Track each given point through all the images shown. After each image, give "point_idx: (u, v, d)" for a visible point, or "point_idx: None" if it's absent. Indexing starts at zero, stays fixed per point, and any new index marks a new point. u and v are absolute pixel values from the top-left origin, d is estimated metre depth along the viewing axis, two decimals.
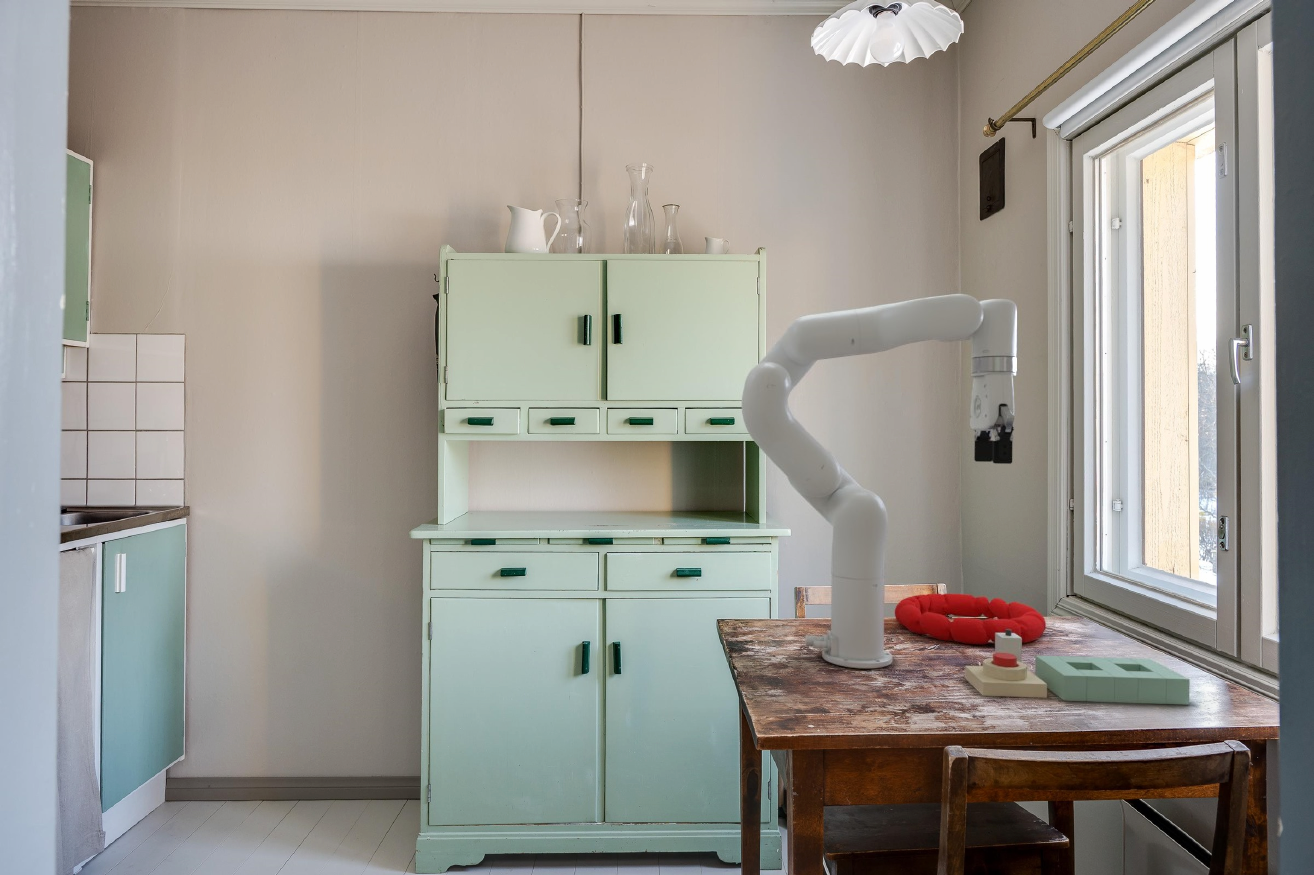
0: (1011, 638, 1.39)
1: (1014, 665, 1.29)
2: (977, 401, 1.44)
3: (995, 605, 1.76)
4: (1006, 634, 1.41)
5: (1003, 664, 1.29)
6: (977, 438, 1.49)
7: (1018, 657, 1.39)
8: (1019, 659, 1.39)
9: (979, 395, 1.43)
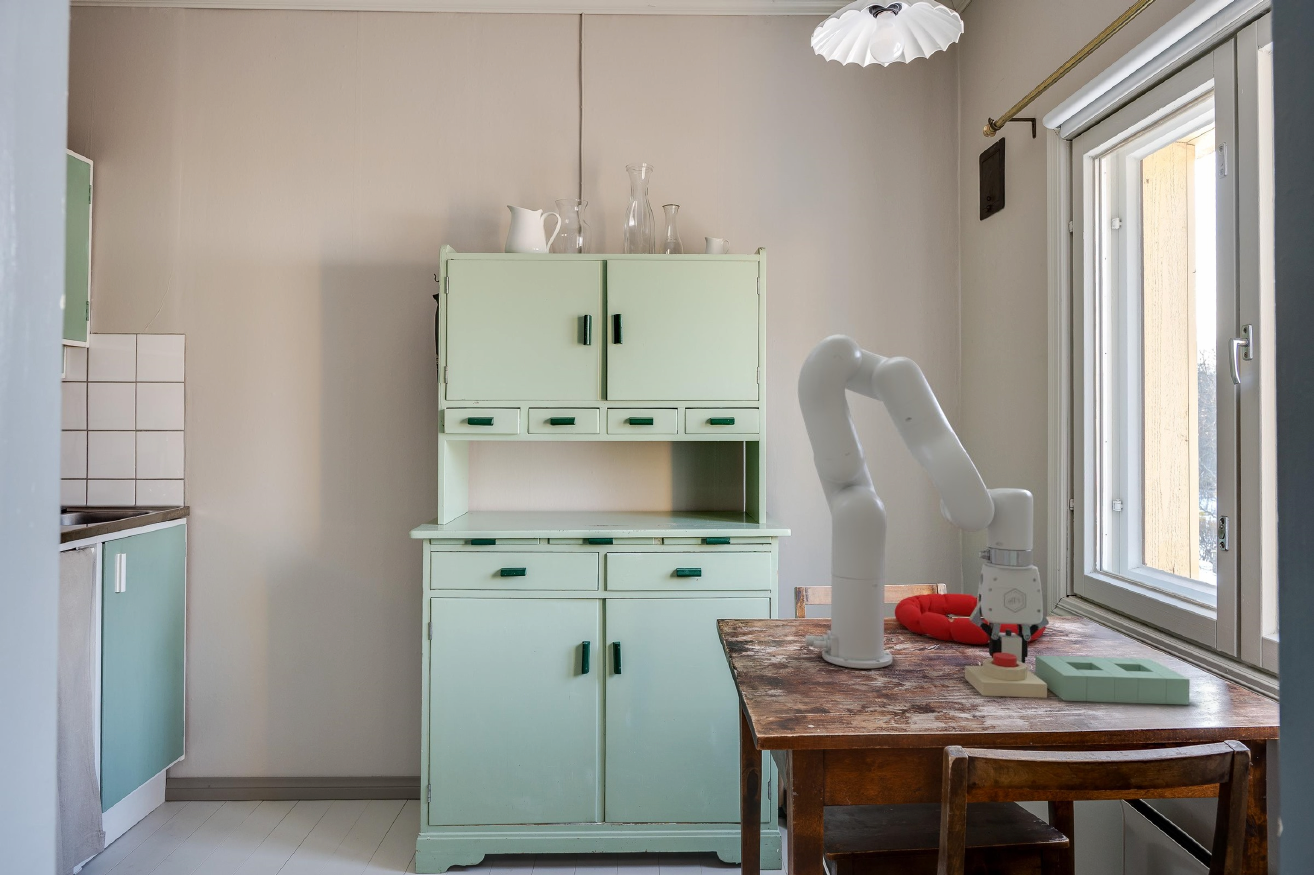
0: (1011, 638, 1.39)
1: (1014, 665, 1.29)
2: (1013, 594, 1.38)
3: None
4: (1006, 634, 1.41)
5: (1003, 664, 1.29)
6: None
7: (1018, 657, 1.39)
8: (1019, 659, 1.39)
9: (1021, 589, 1.38)
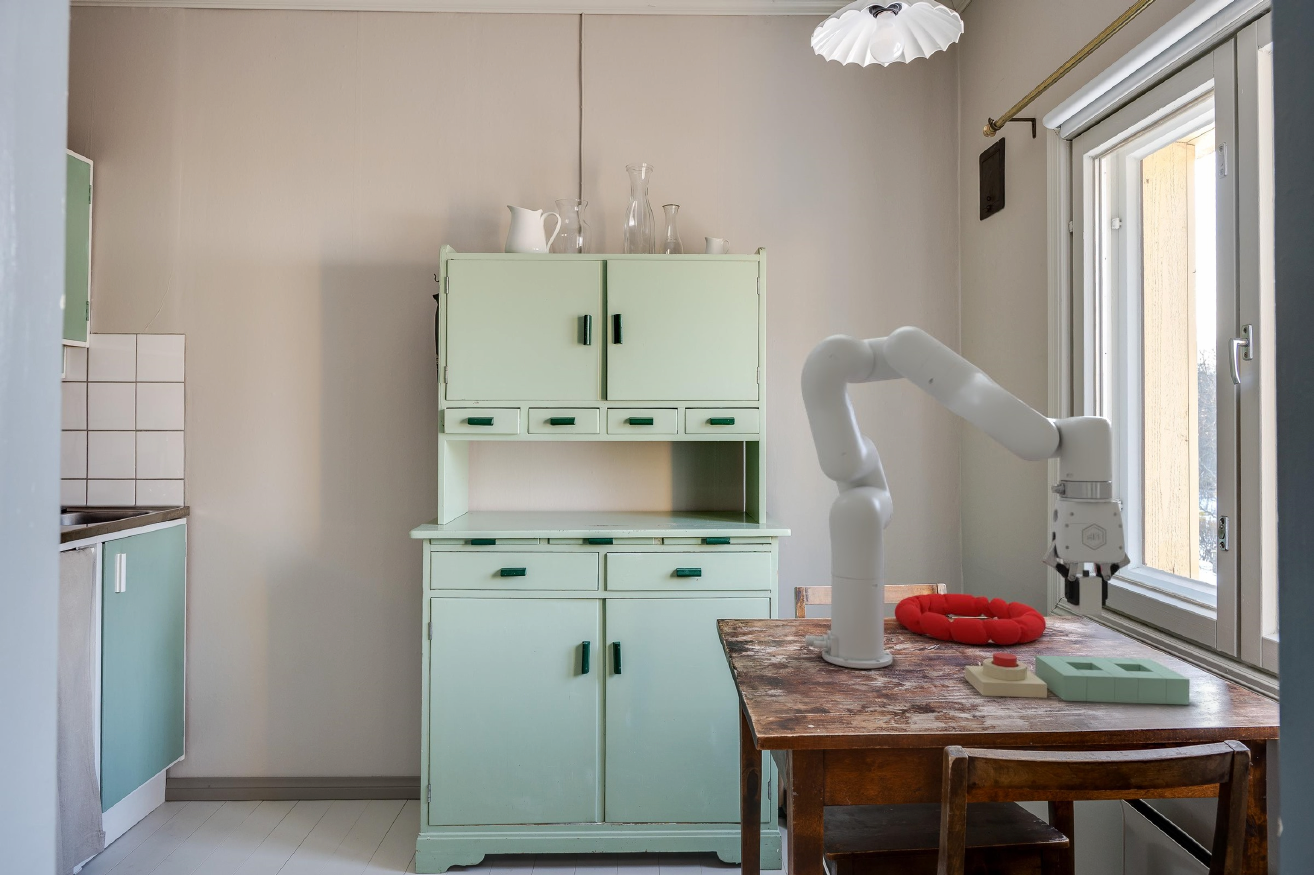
0: (1090, 578, 1.28)
1: (1014, 665, 1.29)
2: (1092, 530, 1.27)
3: (995, 605, 1.76)
4: (1083, 575, 1.29)
5: (1003, 664, 1.29)
6: None
7: (1098, 599, 1.28)
8: (1099, 601, 1.28)
9: (1101, 524, 1.27)
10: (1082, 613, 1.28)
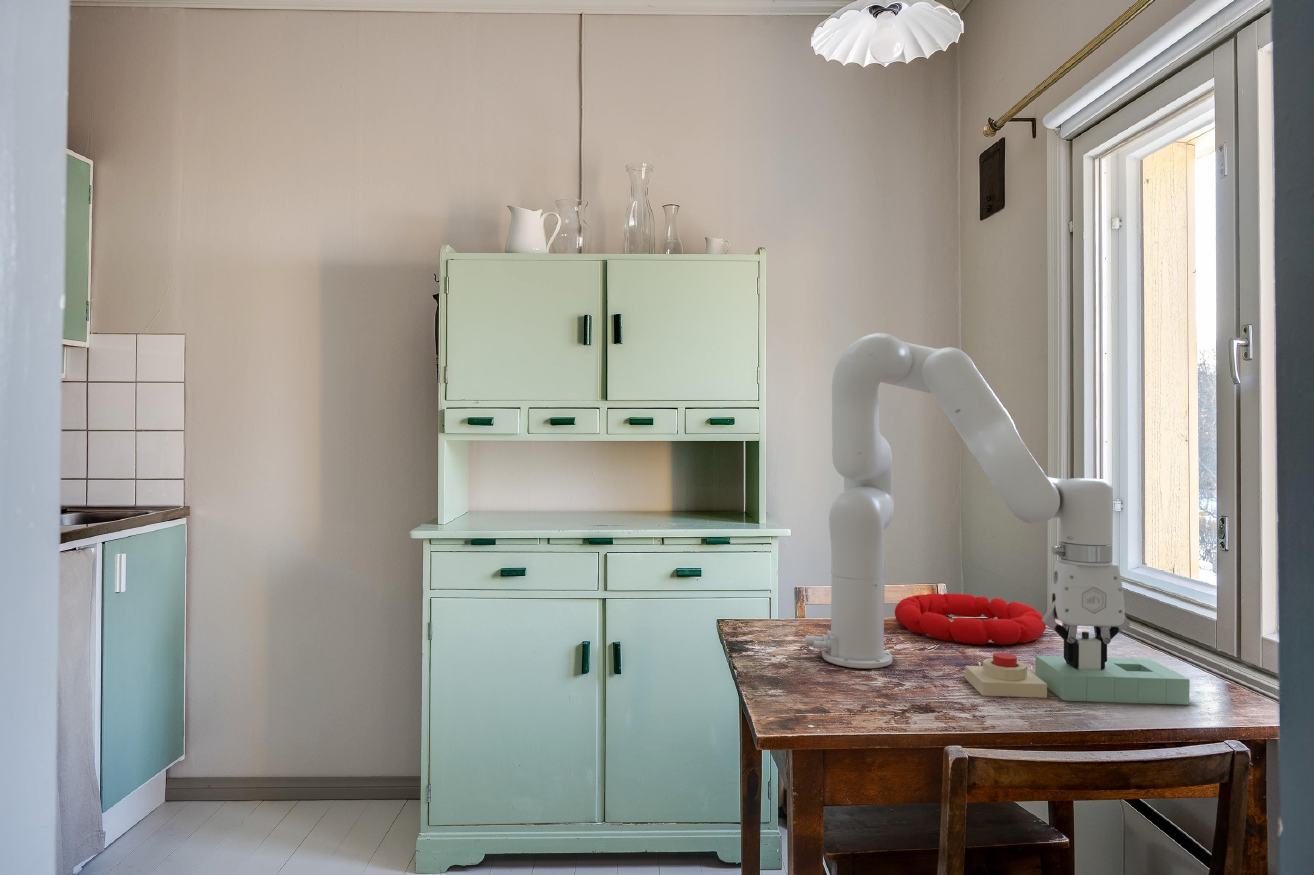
0: (1089, 641, 1.28)
1: (1014, 665, 1.29)
2: (1092, 594, 1.27)
3: (995, 605, 1.76)
4: (1083, 637, 1.29)
5: (1003, 664, 1.29)
6: None
7: (1097, 662, 1.28)
8: (1098, 664, 1.28)
9: (1101, 587, 1.26)
10: None
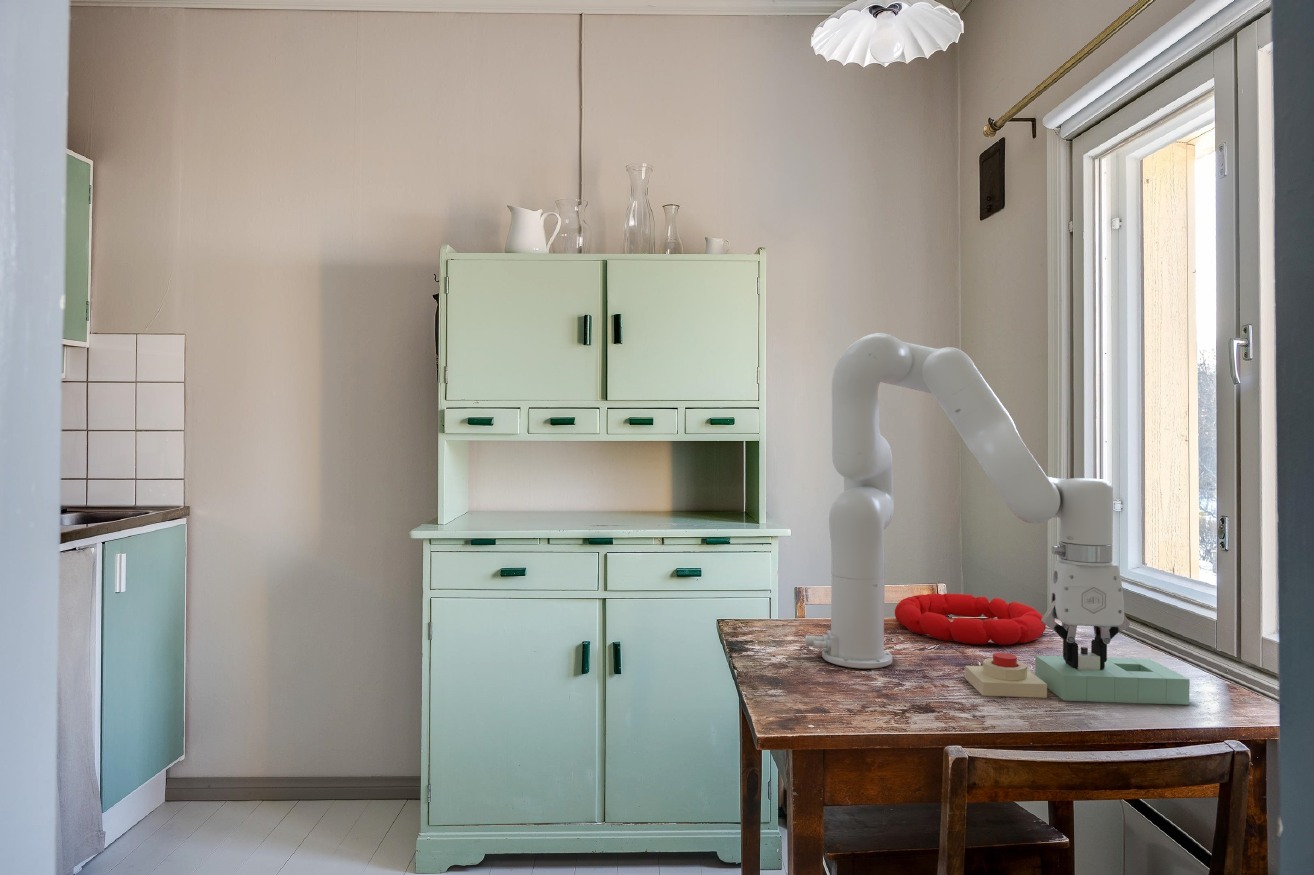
0: (1088, 657, 1.28)
1: (1014, 665, 1.29)
2: (1092, 594, 1.27)
3: (995, 605, 1.76)
4: (1082, 652, 1.29)
5: (1003, 664, 1.29)
6: None
7: None
8: None
9: (1101, 587, 1.26)
10: None
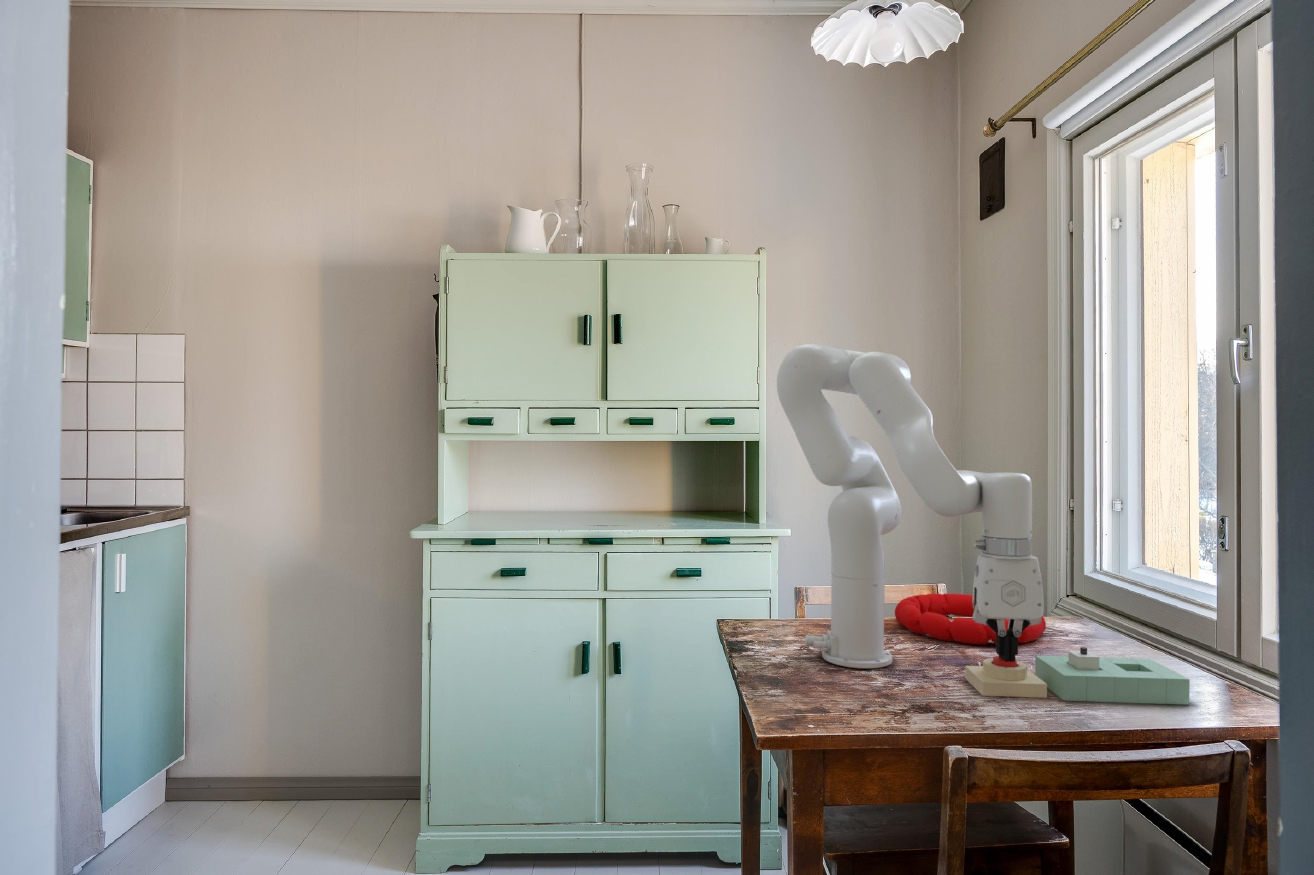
0: (1088, 657, 1.28)
1: None
2: (1011, 587, 1.27)
3: None
4: (1081, 653, 1.29)
5: None
6: None
7: None
8: None
9: (1020, 581, 1.27)
10: None
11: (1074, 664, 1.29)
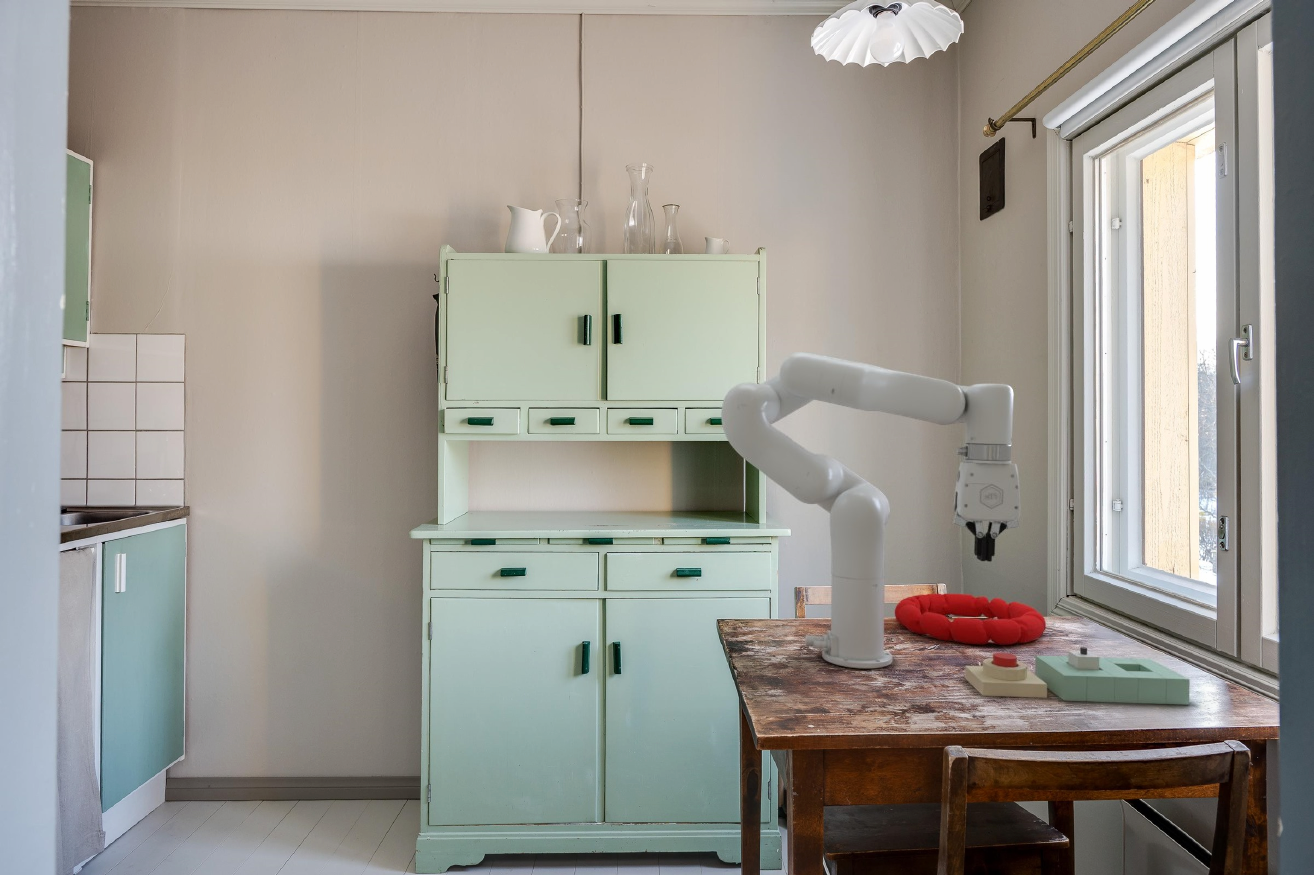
0: (1088, 657, 1.28)
1: (1014, 665, 1.29)
2: (990, 490, 1.35)
3: (995, 605, 1.76)
4: (1081, 653, 1.29)
5: (1003, 664, 1.29)
6: None
7: None
8: None
9: (998, 484, 1.34)
10: None
11: (1074, 664, 1.29)
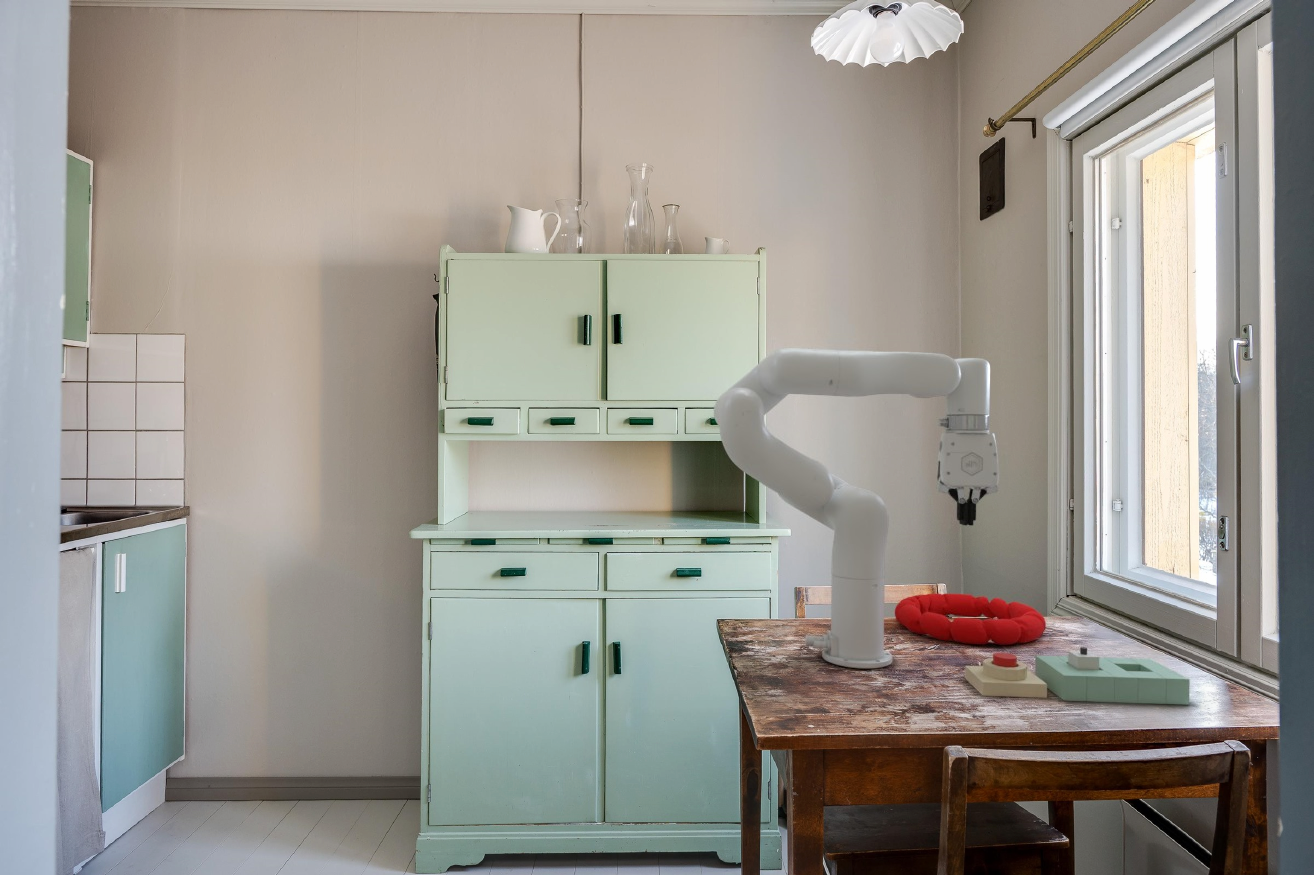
0: (1088, 657, 1.28)
1: (1014, 665, 1.29)
2: (970, 458, 1.44)
3: (995, 605, 1.76)
4: (1081, 653, 1.29)
5: (1003, 664, 1.29)
6: None
7: None
8: None
9: (978, 452, 1.43)
10: None
11: (1074, 664, 1.29)
